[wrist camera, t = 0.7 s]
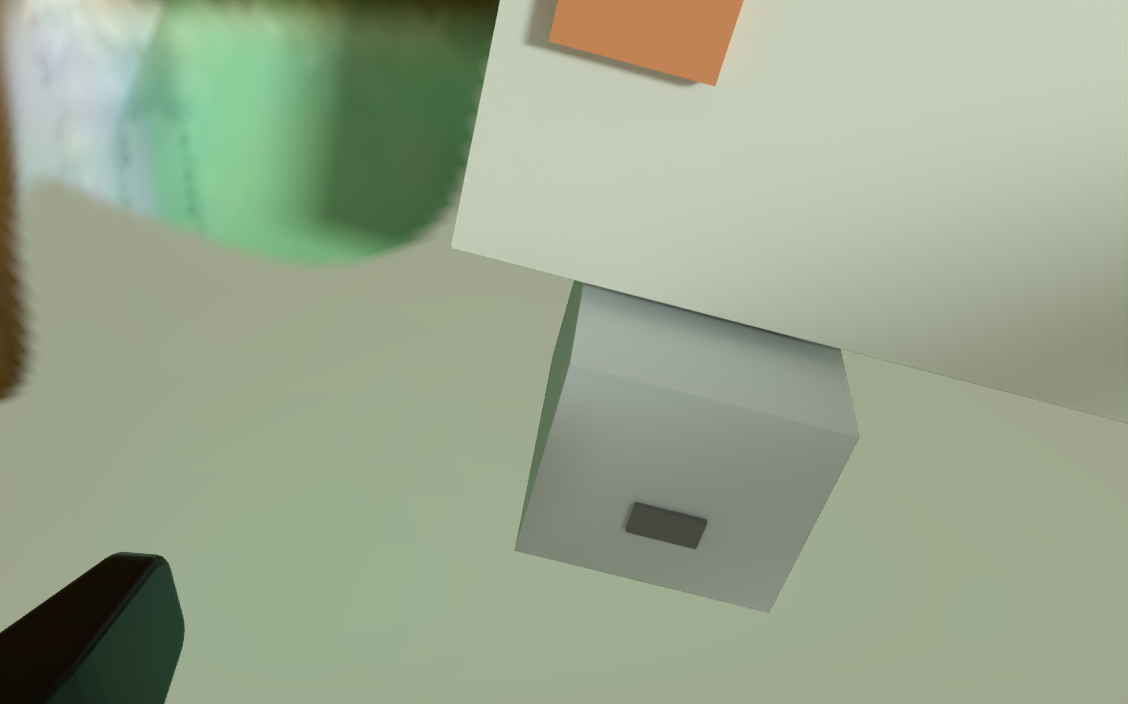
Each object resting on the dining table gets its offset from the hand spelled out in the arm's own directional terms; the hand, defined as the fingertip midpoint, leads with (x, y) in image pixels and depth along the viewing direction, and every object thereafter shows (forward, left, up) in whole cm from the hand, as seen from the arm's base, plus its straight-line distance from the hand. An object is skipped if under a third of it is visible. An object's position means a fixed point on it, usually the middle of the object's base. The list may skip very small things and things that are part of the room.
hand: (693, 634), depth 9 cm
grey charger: (-1, +4, -13) cm, 14 cm away
